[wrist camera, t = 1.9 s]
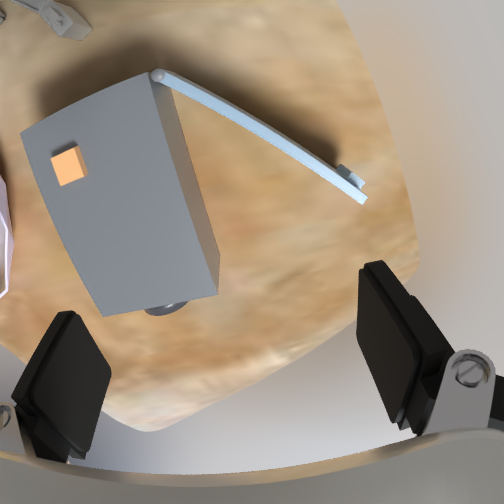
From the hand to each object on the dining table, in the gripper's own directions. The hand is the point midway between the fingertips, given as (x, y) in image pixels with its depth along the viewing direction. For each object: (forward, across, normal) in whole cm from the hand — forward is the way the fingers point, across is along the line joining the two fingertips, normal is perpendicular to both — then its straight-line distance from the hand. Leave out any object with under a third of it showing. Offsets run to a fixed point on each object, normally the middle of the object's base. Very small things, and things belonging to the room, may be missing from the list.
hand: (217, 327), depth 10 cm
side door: (+22, -4, -4) cm, 22 cm away
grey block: (+22, +9, 0) cm, 24 cm away
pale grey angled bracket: (+22, +12, -20) cm, 32 cm away
